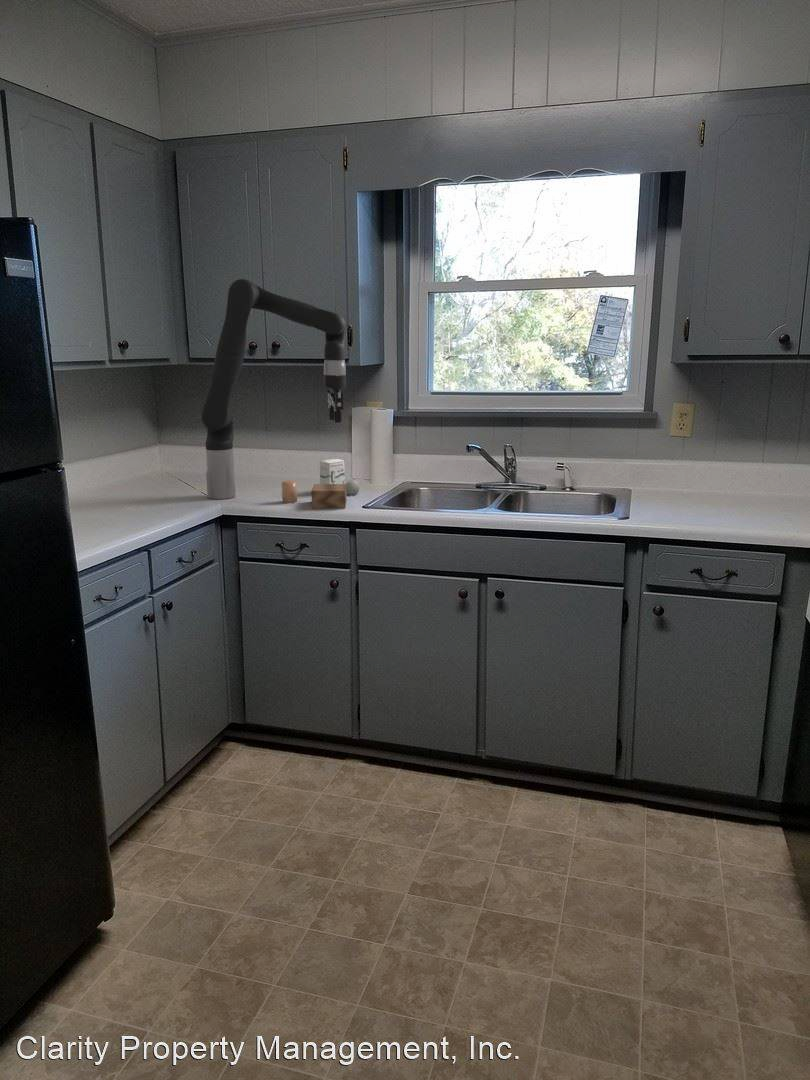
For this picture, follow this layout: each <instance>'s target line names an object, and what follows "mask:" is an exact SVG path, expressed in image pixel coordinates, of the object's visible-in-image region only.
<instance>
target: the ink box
mask: <svg viewBox="0 0 810 1080" xmlns="http://www.w3.org/2000/svg"><path fill="white" fill-rule="evenodd" d="M345 470H346V469H345V460H344V459H341V458H330V459H325V460H321V461H319V476H320V477H319V484H346V482H345V476H346V474H345V472H346V471H345Z"/></svg>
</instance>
